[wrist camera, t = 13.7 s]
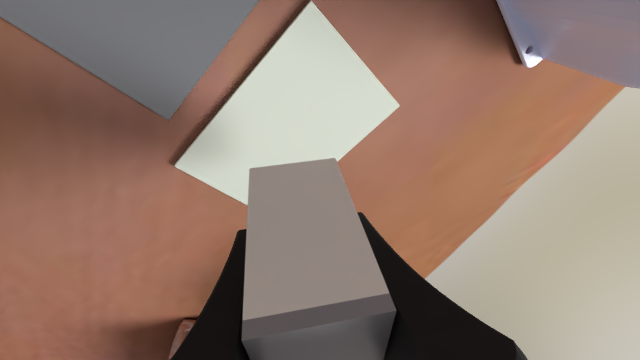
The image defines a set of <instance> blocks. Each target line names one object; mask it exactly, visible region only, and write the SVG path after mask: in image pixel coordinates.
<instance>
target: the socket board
mask: <svg viewBox="0 0 640 360" xmlns="http://www.w3.org/2000/svg"><path fill="white" fill-rule="evenodd" d="M258 1H259V0H0V17H1V18H3V19H5V20H6V21H8V22H10V23H11V24H13V25H14V26H16V27H18V28H19V29H21V30H23V31H24V32H26V33H27V34H29V35H31V36H32V37H34V38H36V39H37V40H39V41H40V42H42V43H44V44H45V45H47V46H48V47H50V48H52V49H53V50H55V51H57V52H58V53H60V54H61V55H63V56H65V57H66V58H68V59H70V60H71V61H73V62H74V63H76V64H78V65H79V66H81V67H83V68H84V69H86V70H87V71H89V72H91V73H92V74H94V75H95V76H97V77H99V78H100V79H102V80H104V81H105V82H107V83H108V84H110V85H112V86H113V87H115V88H117V89H118V90H120V91H121V92H123V93H125V94H126V95H128V96H130V97H131V98H133V99H134V100H136V101H138V102H139V103H141V104H143V105H144V106H146V107H147V108H149V109H151V110H152V111H154V112H155V113H157V114H159V115H160V116H162V117H164V118H165V119H167V120H168V121H169V119H170V118H171V117H172V115H173V114H174V113H175V111H176V110H177V109H178V107H179V106H180V105H181V103H182V102H183V101H184V99H185V98H186V97H187V95H188V94H189V93H190V91H191V90H192V89H193V87H194V86H195V85H196V83H197V82H198V81H199V79H200V78H201V77H202V75H203V74H204V73H205V71H206V70H207V69H208V67H209V66H210V65H211V63H212V62H213V61H214V59H215V58H216V57H217V55H218V54H219V53H220V52H221V50H222V49H223V48H224V46H225V45H226V44H227V42H228V41H229V40H230V38H231V37H232V36H233V34H234V33H235V32H236V30H237V29H238V28H239V26H240V25H241V24H242V22H243V21H244V20H245V18H246V17H247V16H248V14H249V13H250V12H251V10H252V9H253V8H254V6H255V5H256V4H257V2H258Z"/></svg>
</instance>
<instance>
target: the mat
mask: <svg viewBox="0 0 640 360" xmlns="http://www.w3.org/2000/svg"><path fill="white" fill-rule="evenodd" d="M399 106H400V105H399V104H398V103H397V102H396V101H395V99H394V98H393V97H392V96H391V95H390V93H389V92H388V91H387V90H386V89H385V87H384V86H383V85H382V84H381V83H380V82H379V80H378V79H377V78H376V77H375V76H374V74H373V73H372V72H371V71H370V70H369V69H368V67H367V66H366V65H365V64H364V63H363V61H362V60H361V59H360V58H359V57H358V55H357V54H356V53H355V52H354V51H353V50H352V48H351V47H350V46H349V45H348V44H347V42H346V41H345V40H344V39H343V38H342V36H341V35H340V34H339V33H338V32H337V31H336V29H335V28H334V27H333V26H332V25H331V23H330V22H329V21H328V20H327V19H326V18H325V16H324V15H323V14H322V13H321V12H320V10H319V9H318V8H317V7H316V6H315V4H314V3H313V2H312V1H311V0H310V1H309V2H308V3H307V5H306V6H305V7H304V8H303V10H302V11H301V12H300V13H299V14H298V16H297V17H296V18H295V19H294V20H293V22H292V23H291V24H290V25H289V26H288V28H287V29H286V30H285V31H284V32H283V34H282V35H281V36H280V37H279V39H278V40H277V41H276V42H275V43H274V45H273V46H272V47H271V48H270V49H269V51H268V52H267V53H266V54H265V55H264V57H263V58H262V59H261V60H260V62H259V63H258V64H257V65H256V66H255V68H254V69H253V70H252V71H251V72H250V74H249V75H248V76H247V77H246V78H245V80H244V81H243V82H242V83H241V85H240V86H239V87H238V88H237V89H236V91H235V92H234V93H233V94H232V95H231V97H230V98H229V99H228V100H227V101H226V103H225V104H224V105H223V106H222V108H221V109H220V110H219V111H218V112H217V114H216V115H215V116H214V117H213V118H212V120H211V121H210V122H209V123H208V124H207V126H206V127H205V128H204V129H203V131H202V132H201V133H200V134H199V135H198V137H197V138H196V139H195V140H194V141H193V143H192V144H191V145H190V146H189V147H188V149H187V150H186V151H185V152H184V154H183V155H182V156H181V157H180V158H179V160H178V161H177V162H176V163H175V167H176V168H178V169H180V170H182V171H184V172H186V173H188V174H190V175H191V176H193V177H195V178H197V179H199V180H201V181H203V182H205V183H206V184H208V185H210V186H212V187H214V188H216V189H218V190H220V191H222V192H223V193H225V194H227V195H229V196H231V197H233V198H235V199H237V200H238V201H240V202H242V203H244V204H246V205H248V189H249V168H257V167H265V166H273V165H281V164H289V163H297V162H305V161H313V160H321V159H329V158H335V159H336V161H338V160H340V159H341V158H342V157H343V156H344V155H345V154H346V153H347V152H349V151H350V150H351V149H352V148H353V147H354V146H355V145H356V144H358V143H359V142H360V141H361V140H362V139H363V138H364V137H365V136H366V135H368V134H369V133H370V132H371V131H372V130H373V129H374V128H375V127H377V126H378V125H379V124H380V123H381V122H382V121H383V120H384V119H386V118H387V117H388V116H389V115H390V114H391V113H392V112H393V111H395V110H396V109H397V108H398V107H399Z"/></svg>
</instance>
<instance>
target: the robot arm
mask: <svg viewBox="0 0 640 360" xmlns="http://www.w3.org/2000/svg"><path fill="white" fill-rule="evenodd" d="M496 1H497V3H498V6H499V8H500V10H501V13H502V15H503V18H504V20H505V22H506V25H507V27H508V30H509V32H510V34H511V37H512V39H513V42H514V44H515V46H516V49H517V51H518V54H519V56H520V58H521V61H522V63H523V65H524V66H525V67H528V68H531V67H533V66H535V65H536V64H537V63H539V62H540V61H541V60H543V59H546V60H548V61H551V62H554V63H557V64H560V65H563V66H566V67H569V68H572V69H575V70H578V71H581V72H583V73H586V74H589V75H592V76H595V77H598V78H601V79H604V80H607V81H610V82H613V83H615V84H618V85H622V86H626V87H632V88H640V0H496ZM528 47H529V48H528ZM527 48H528V50H527V51H526V49H527ZM358 216H359V218H360V221H361V223H362V226H363V228H364V231H365V233H366V236H367V238H368V241H369V243H370V246H371V248H372V251H373V253H374V256H375V258H376V261H377V263H378V266H379V268H380V271H381V273H382V276H383V278H384V281H385V283H386V286H387V288H388V291H389V293H390V296H391V298H392V301H393V303H394V306H395V308H396V314H395V318H394V322H393V325H392V329H391V333H390V337H389V340H388V344H387V348H386V352H385V355H384V359H383V360H527V358H526V356H525V355H524V354H523V352H522V351H521V350H520V348H519V347H518V346H517V345H516V344H515V342H514V341H513V340H512V339H510V338H508V337H507V336H505V335H503V334H501V333H500V332H498V331H496V330H495V329H493V328H491V327H490V326H488V325H486V324H485V323H483V322H482V321H480V320H479V319H477V318H476V317H474V316H473V315H471V314H470V313H468V312H467V311H465V310H464V309H463V308H461V307H460V306H458V305H457V304H456V303H454V302H453V301H451V300H450V299H449V298H447V297H446V296H445V295H443V294H442V293H441V292H439V291H438V290H437V289H436V288H434V287H433V286H432V285H431V284H430V283H428V282H427V281H426V280H425V279H424V278H422V277H421V276H420V275H419V274H418V273H417V272H416V271H415V270H413V269H412V268H411V267H410V266H409V265H408V264H407V263H406V262H405V261H404V260H403V259H402V258H401V257H400V256H399V255H398V254H397V253H396V252H395V251H394V250H393V249H392V248H391V247H390V245H389V244H388V243H387V242H386V241H385V240H384V239H383V238H382V237H381V235H380V234H379V233H378V232H377V231H376V230H375V228H374V227H373V226H372V225H371V223H370V222H369V221H368V220H367V218H366V217H365V216H364V214H363V213H361V212H359V213H358ZM246 232H247V229H244V230H239V231H238V232H237V235H236V238H235V241H234V244H233V247H232V250H231V252H230V255H229V257H228V260H227V262H226V264H225V266H224V269H223V271H222V273H221V275H220V278H219V280H218V282H217V284H216V286H215V288H214V290H213V292H212V293H211V295H210V297H209V299H208V301H207V303H206V305H205V306H204V308H203V310H202V312H201V313H200V315H199V317H198V318H197V320H196V322H195V323H194V325H193V327H192V328H191V330H190V331H189V333H188V334H187V336H186V337H185V339H184V340H183V342H182V343H181V345H180V346H179V348H178V349H177V351H176V352H175V354H174V355H173V356H172V358H171V359H170V360H250V358H249V356H248V353H247V351H246V349H245V347H244V345H243V343H242V320H243V298H244V276H245V254H246Z"/></svg>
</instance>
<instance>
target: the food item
mask: <svg viewBox="0 0 640 360" xmlns="http://www.w3.org/2000/svg"><path fill="white" fill-rule="evenodd" d="M195 322H196V320H192V319H183V321H182V323H181V324H180V326H179V328H178V331H177V333H176V335H175V338H174V341H173V344H172V347H171V350H170V354H169V358H168V360H170V359H171V358H172V356H173V355H174V354H175V352H176V351H177V349H178V348H179V346H180V345H181V343H182V342H183V340H184V339H185V337H186V336H187V334H188V333H189V331H190V330H191V328H192V327H193V325H194V323H195Z"/></svg>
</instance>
